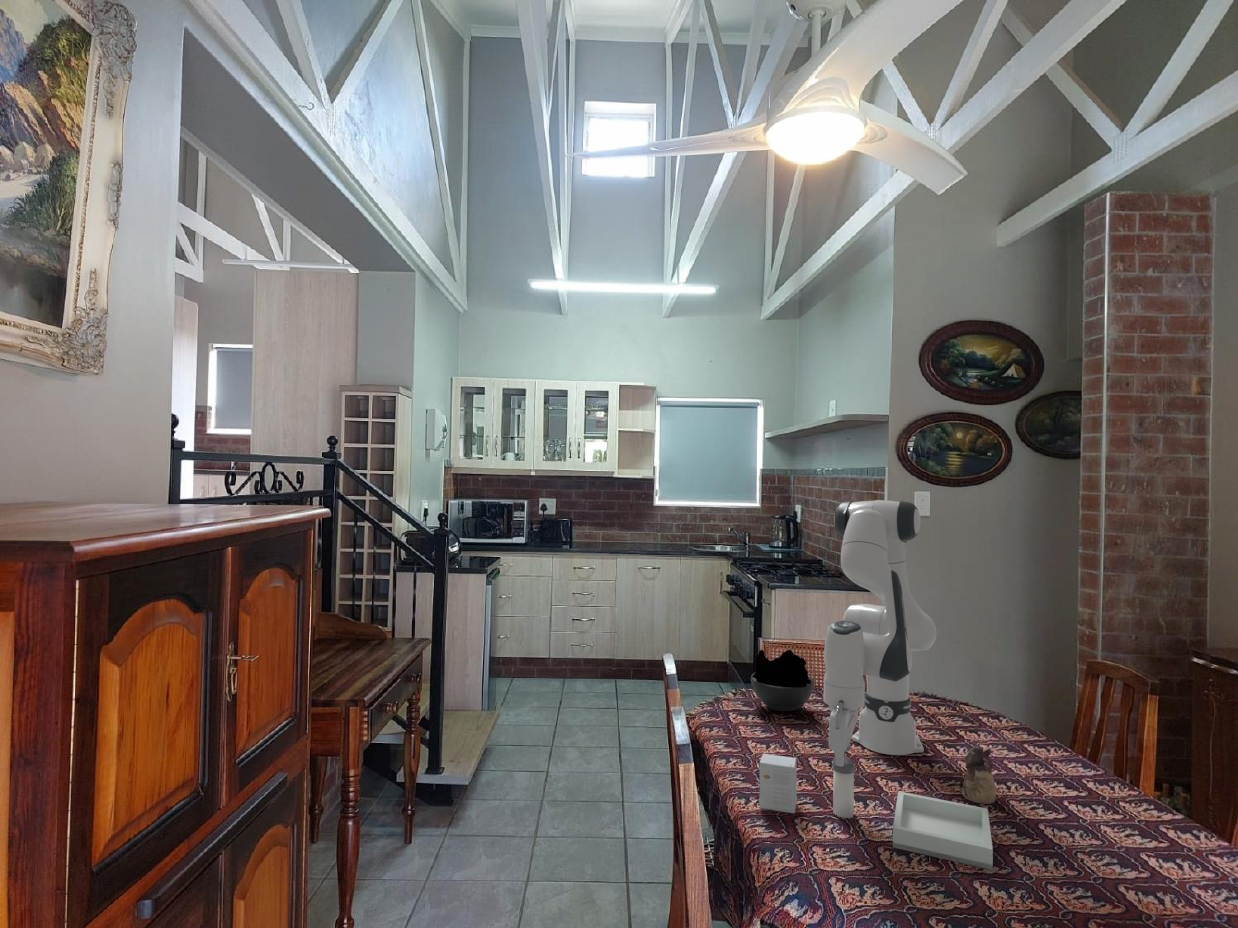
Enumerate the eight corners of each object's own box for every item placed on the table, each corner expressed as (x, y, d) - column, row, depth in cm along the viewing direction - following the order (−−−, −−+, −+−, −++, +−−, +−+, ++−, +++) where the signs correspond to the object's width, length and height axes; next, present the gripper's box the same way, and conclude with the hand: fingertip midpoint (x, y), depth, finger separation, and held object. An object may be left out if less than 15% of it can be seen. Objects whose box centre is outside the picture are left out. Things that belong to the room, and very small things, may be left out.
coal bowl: (824, 709, 222) (825, 651, 222) (796, 725, 207) (796, 663, 207) (769, 695, 235) (770, 640, 236) (738, 710, 220) (739, 651, 221)
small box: (797, 803, 158) (797, 757, 158) (795, 814, 153) (795, 767, 153) (762, 797, 161) (762, 752, 161) (758, 808, 156) (759, 761, 156)
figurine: (968, 787, 167) (968, 738, 168) (1000, 797, 162) (1000, 746, 162) (957, 796, 162) (958, 745, 162) (990, 807, 157) (990, 755, 157)
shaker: (833, 806, 157) (834, 755, 157) (855, 811, 155) (856, 759, 155) (830, 815, 152) (831, 763, 153) (853, 820, 150) (853, 767, 151)
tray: (898, 808, 156) (898, 791, 156) (987, 826, 148) (987, 808, 148) (892, 847, 140) (892, 827, 140) (992, 869, 132) (992, 849, 132)
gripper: (852, 711, 143) (851, 777, 143) (863, 685, 162) (862, 744, 161) (821, 706, 146) (820, 771, 145) (835, 681, 164) (834, 739, 164)
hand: (842, 757), depth 154 cm, fingers open, 8 cm apart
